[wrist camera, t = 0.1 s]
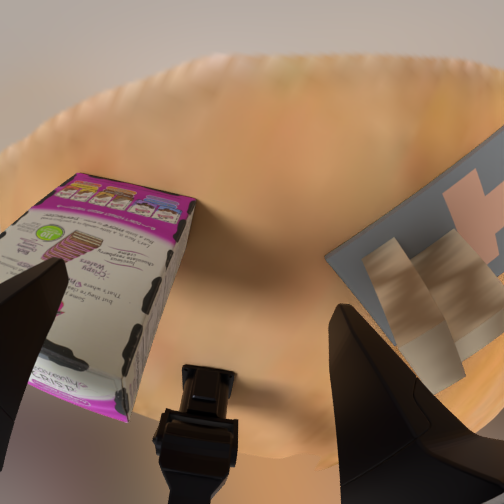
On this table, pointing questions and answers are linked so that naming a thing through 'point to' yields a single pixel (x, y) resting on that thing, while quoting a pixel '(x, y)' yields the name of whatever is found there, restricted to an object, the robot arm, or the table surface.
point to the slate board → (435, 222)
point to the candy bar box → (101, 283)
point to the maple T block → (438, 305)
